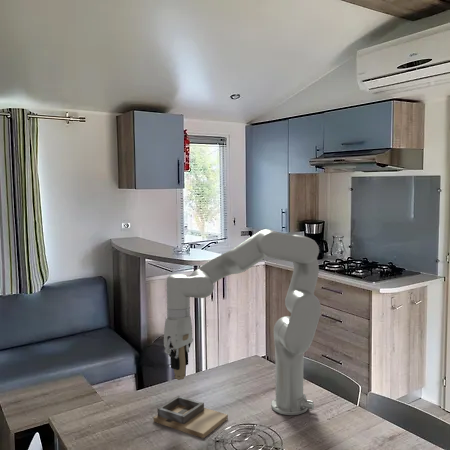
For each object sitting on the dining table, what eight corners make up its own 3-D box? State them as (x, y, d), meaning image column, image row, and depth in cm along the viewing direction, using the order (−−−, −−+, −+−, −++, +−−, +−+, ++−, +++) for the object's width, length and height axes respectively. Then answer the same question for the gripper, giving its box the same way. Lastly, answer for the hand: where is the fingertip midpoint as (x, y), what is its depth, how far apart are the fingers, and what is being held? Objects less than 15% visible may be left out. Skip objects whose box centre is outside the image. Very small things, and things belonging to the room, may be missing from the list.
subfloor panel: (227, 418, 155) (227, 407, 155) (203, 438, 143) (203, 425, 143) (179, 404, 166) (179, 393, 166) (153, 421, 154) (153, 410, 154)
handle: (187, 381, 153) (186, 336, 152) (168, 380, 154) (167, 336, 153) (190, 376, 158) (190, 332, 156) (172, 375, 159) (171, 331, 157)
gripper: (184, 305, 163) (185, 356, 164) (152, 316, 149) (154, 372, 150) (202, 308, 159) (203, 360, 160) (171, 320, 145) (172, 377, 146)
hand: (179, 366), depth 155 cm, fingers closed on handle, 3 cm apart
